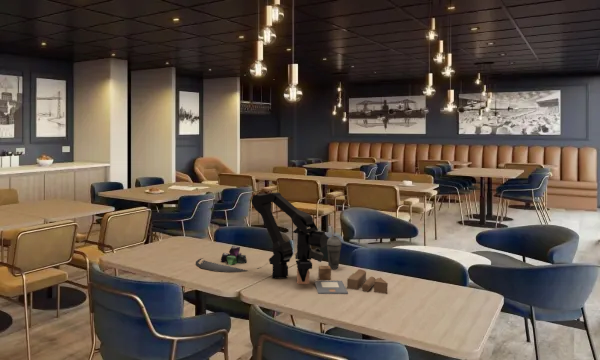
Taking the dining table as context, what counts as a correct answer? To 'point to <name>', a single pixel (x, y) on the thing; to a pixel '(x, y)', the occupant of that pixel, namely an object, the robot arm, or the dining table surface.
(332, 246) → the beverage cup
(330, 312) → the dining table surface
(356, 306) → the dining table surface
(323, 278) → the walnut block
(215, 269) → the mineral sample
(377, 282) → the wooden block set
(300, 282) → the terracotta block
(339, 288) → the grey flat plate
